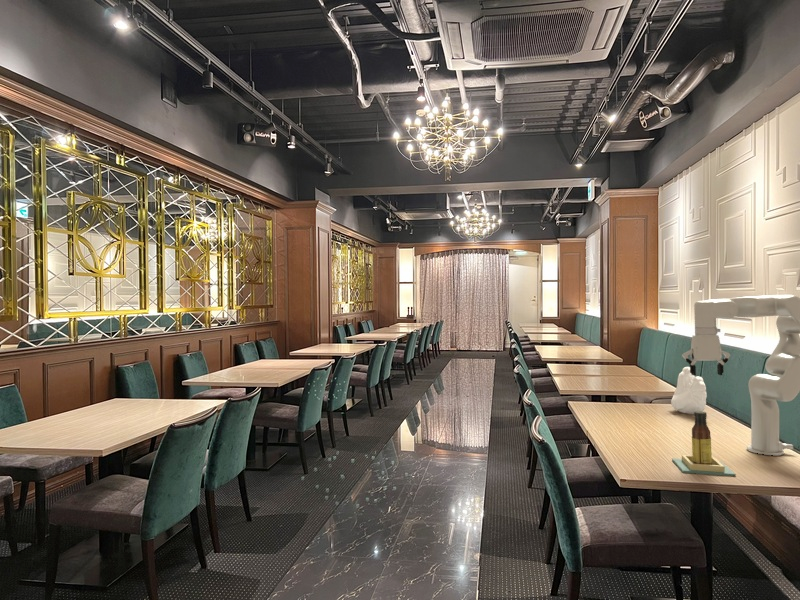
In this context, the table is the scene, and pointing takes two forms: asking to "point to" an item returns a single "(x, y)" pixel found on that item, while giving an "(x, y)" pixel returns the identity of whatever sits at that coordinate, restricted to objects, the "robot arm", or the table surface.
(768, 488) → the table surface
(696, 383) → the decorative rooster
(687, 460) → the teal board with frame
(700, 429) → the sauce bottle
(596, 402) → the table surface
